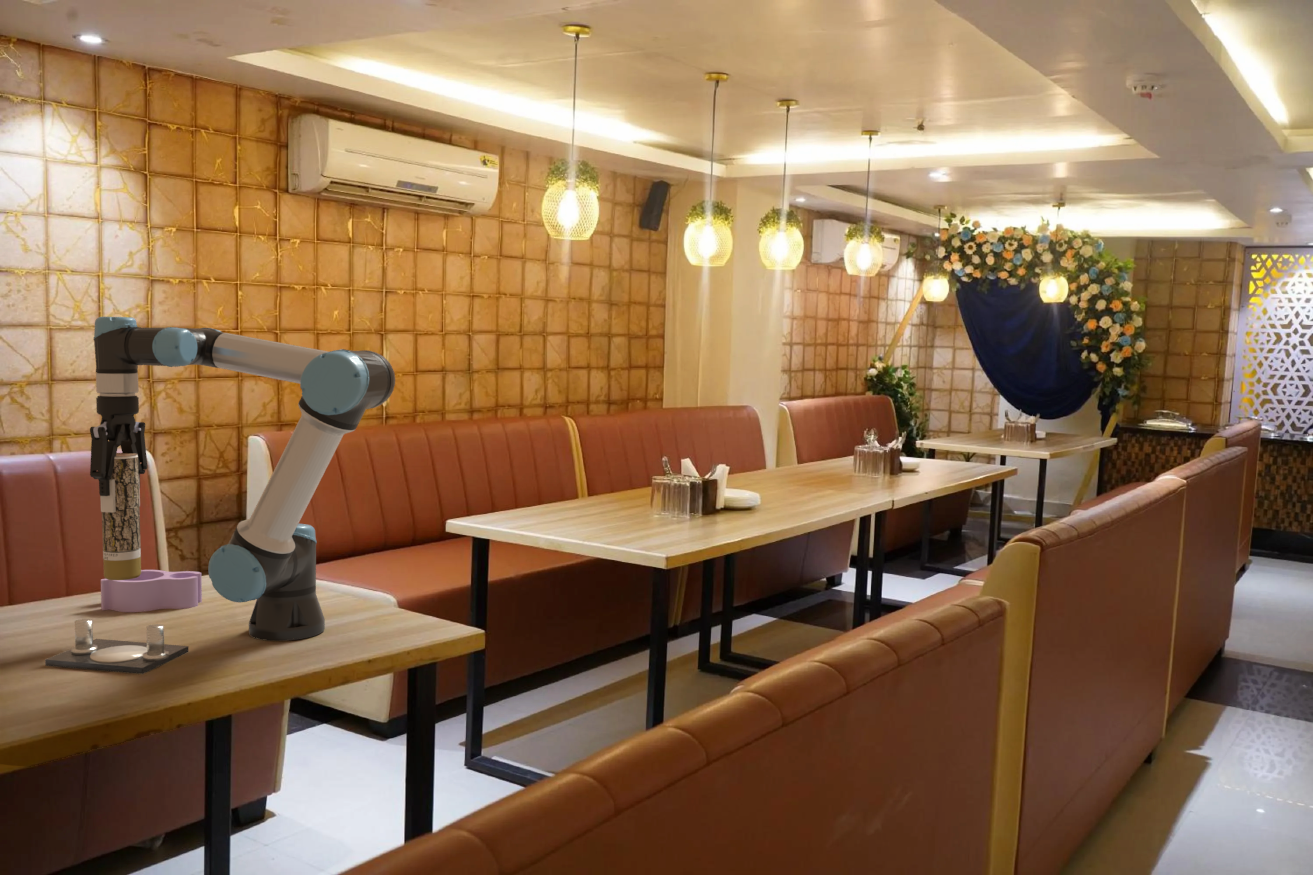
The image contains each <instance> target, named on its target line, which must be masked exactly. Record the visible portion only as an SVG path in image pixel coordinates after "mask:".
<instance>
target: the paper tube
mask: <svg viewBox="0 0 1313 875" xmlns="http://www.w3.org/2000/svg"><path fill="white" fill-rule="evenodd" d="M111 479H115V503H116V512H113V513H112V512H101V529H102V531H101V532H102V533H101V534H102V560H103V577H104V579H108V580H128V579H133V578H137V577H139V576H140V574H141V570H142V554H141V553H142V552H141V550H142V548H141V516H140V514H141V513H140V512H141V511H140V506H139V471H138V454H136V453H122V452H117V453H116V456H115V458H114V468H113V473H112V478H111Z"/></svg>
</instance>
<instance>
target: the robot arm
mask: <svg viewBox="0 0 1313 875" xmlns="http://www.w3.org/2000/svg"><path fill="white" fill-rule="evenodd" d="M93 333H94V334H93V342H94V343H93V344H94V355H95V359H94V360H95V386H96V387H95V389H96V393H97V394H99V395H97V397H95V399H96V400H95V401H96V413H97V414H98V415H100V416H101V419H100V420H101V421H100V424H99V425H98V426H90V428H89V434H90V437H91V443H90V444H91V445H90V446H91V447H90V468H89V470H90V471H89V476H90V477H91V478H93V479H94V480H98V490H99V491H98V493H99V497H100V498H99V499H100V513H102V512H112V513H113V512H116V503H115V479H111V478H112V473H113V468H114V458H115V456H116V453H118V447H119V448H120V449H121V453H136V454H138V471H139V507H141V498H140V497H141V493H140V492H141V491H140V489H141V475H144V474H146V470H148V458H147V448H146V447H147V446H146V436H145V432H146V423H145V422H143V421H142V422H141V421H136V419H135V415H138V413H139V412H140V404H139V397H138V395H136V394H137V393H139V392H140V391H139V389H140V388H139V387H140V386H139V374H138V373H139V372H138V370H139V369H138V368H139V366H151V367H152V366H155V367H168V368H173V367H175V368H176V367H177V368H178V367H186V366H190V365H191V366H194V365H195V366H203V367H210V368H216V369H222V370H228V371H233V372H237V373H244V374H249V375H253V376H259V377H264V378H270V379H274V380H279V381H283V382H289V383H295V384H299V385H300V389H301V397H300V399H299V401H298V404H297V405H298V409H299V410H300V413H301V416H300V418H299V419H298V422H297V424H296V426H295V428H294V430H293V432H292V434H291V436H290V437H289V440H288V442H287V444H286V445H285V448H284V450H283V452H282V453H281V456H280V458H279V460H278V462H277V464H276V466H275V468H274V469H273V473H272V474H271V476H270V478H269V480H268V482H267V484H266V486H265V488H264V489H263V491H262V494H261V495H260V497H259V499H258V501H257V504H256V506H255V507H254V509H253V512H252V513H251V515H250V518H248V519H247V518H246V519H245V520H240V521H239V522H238V524H237V525H236V527H235V530H234V531H233V533H232V535H231V538H230V539H229V541H228V543H227V544H224V545H221V546H220V547H219V548H218V549H216V550H215V551H214V552H213V554H212V555H211V557H210V559H209V562H208V565H207V566H208V567H207V568H208V571H207V572H208V577H209V579H210V580H211V585H212V586H213V587H212V588H214V590H215V591H216V592H217V593H218V594H219V595H220V596H221V597H223V598H224V599H226V600H228V601H229V602H234V603H247V602H251V601H255V604H254V607H253V610H252V613H251V616H250V617H249V619H250V620H249V622H248V635H249V636H250V637H252V638H254V639H256V640H262V641H273V642H275V641H276V642H277V641H279V642H281V641H282V642H283V641H296V640H302V639H303V640H304V639H307V638H311V637H315V636H318V635H320V634H321V633H323V632H324V631H325V628H326V627H325V626H326V623H325V621H326V620H325V619H326V618H325V616H324V614H323V611H322V610H323V609H322V607H321V605H320V601H319V599H318V596H317V589H316V588H317V585H316V584H317V543H318V542H317V538H316V530H315V527H313V526H312V525H311V524H307V523H306V524H304V523H300V521H301V519H302V517H303V516H304V513H305V512H306V510H307V507H308V506H309V504H310V502H311V500H312V498H313V496H314V494H315V492H316V489H317V488H318V486H319V484H320V482H321V480H322V478H323V476H324V474H325V472H326V470H327V468H328V466H329V465H330V463H331V461H332V459H333V457H334V455H335V452H336V451H337V449H338V447H339V445H340V443H341V441H342V439H343V436H344V435H346V434H349V433H352V432H354V431H356V429H357V428H358V425H359V424H360V422H361V420H362V418H363V416H364V414H365V412H366V410H370V409H375V408H377V407H379V406H381V405H383V404H385V402H386V401H388V400H389V398H390V397H391V396H392V395H393V392H394V388H395V386H396V375H395V370H394V368H393V366H392V364H391V363H390V361H389V360H388V359H387V358H385V356H383V355H382V354H380V353H377V351H376V352H375V351H372V350H365V349H364V350H349V349H344V348H340V349H335V350H334V349H333V350H330V351H327V350H322V349H317V348H310V347H305V346H300V345H294V344H290V343H284V342H278V341H272V340H267V339H261V338H257V337H250V336H246V335H241V334H234V333H228V332H223V331H221V330H219V329H216V328H211V327H201V328H195V327H194V328H191V327H190V328H188V327H173V326H172V327H171V326H170V327H169V326H167V327H140V326H138V325H137V320H136V319H135V317H131V316H129V317H127V316H99V317H97V318H96V319H95V321H94V332H93Z"/></svg>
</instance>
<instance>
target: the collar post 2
mask: <svg viewBox="0 0 1313 875" xmlns="http://www.w3.org/2000/svg"><path fill="white" fill-rule="evenodd" d="M145 632H146V643H147V652H145V653H143V660H145V661H159V660H163V659H166V658H168V657H169V652H168V651H166V650H164V644H165V625H164V624H161V623H159V624H158V623H157V624H150V625H147V626H146V630H145Z"/></svg>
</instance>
